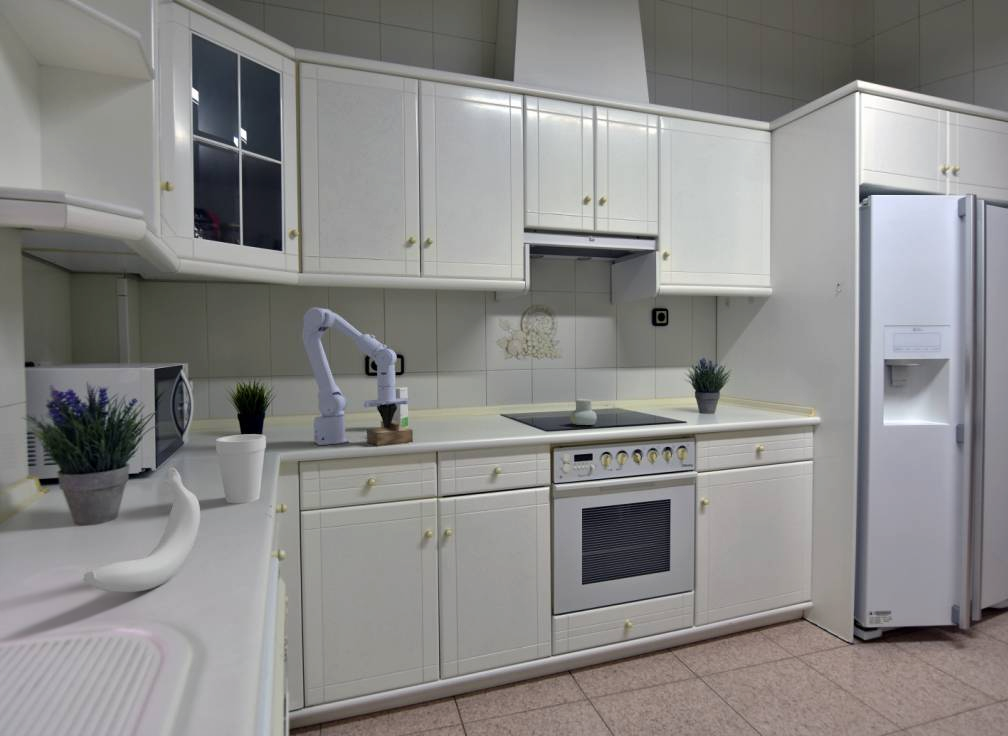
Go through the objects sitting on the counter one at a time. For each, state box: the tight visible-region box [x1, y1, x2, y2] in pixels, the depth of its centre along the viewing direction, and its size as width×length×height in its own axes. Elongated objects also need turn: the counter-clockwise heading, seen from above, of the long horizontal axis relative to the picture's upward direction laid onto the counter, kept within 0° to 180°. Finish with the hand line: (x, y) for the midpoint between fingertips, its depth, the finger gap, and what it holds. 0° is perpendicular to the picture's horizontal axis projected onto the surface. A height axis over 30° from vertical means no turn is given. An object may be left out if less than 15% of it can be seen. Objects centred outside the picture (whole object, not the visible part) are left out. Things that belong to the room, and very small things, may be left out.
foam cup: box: [215, 433, 267, 504], centre depth 118 cm, size 10×9×13 cm
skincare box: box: [384, 386, 410, 429], centre depth 211 cm, size 8×7×16 cm
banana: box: [82, 466, 201, 593], centre depth 77 cm, size 5×19×15 cm, turn 178°
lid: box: [370, 422, 412, 433], centre depth 183 cm, size 11×8×3 cm
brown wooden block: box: [366, 426, 414, 447], centre depth 183 cm, size 12×9×4 cm
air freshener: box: [570, 398, 598, 426], centre depth 216 cm, size 11×8×10 cm
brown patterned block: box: [380, 420, 396, 428], centre depth 194 cm, size 4×4×6 cm
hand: (387, 427), depth 183 cm, fingers closed
